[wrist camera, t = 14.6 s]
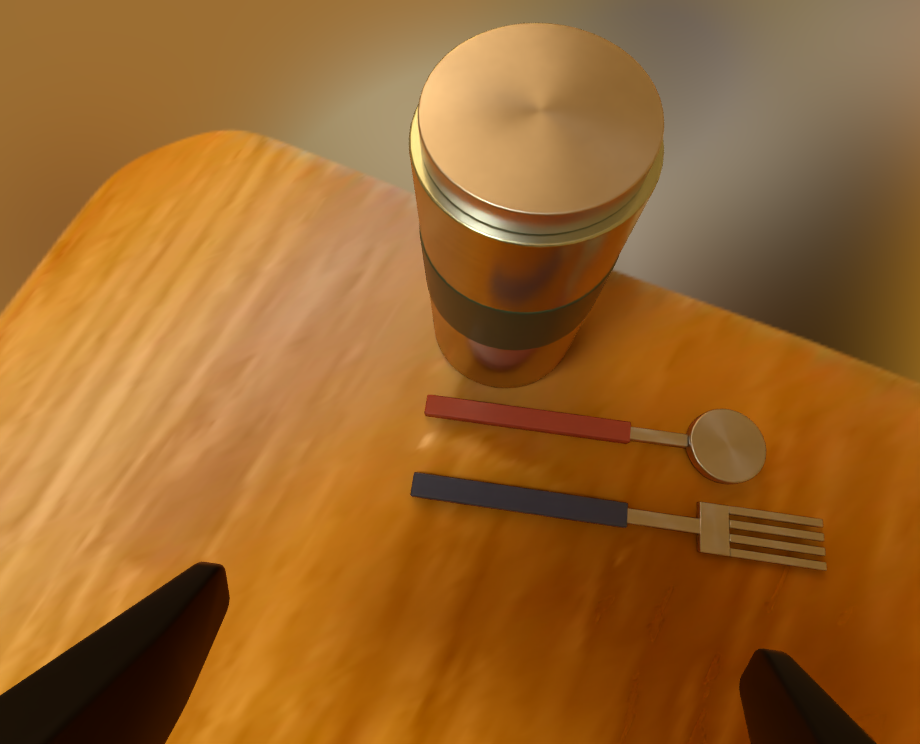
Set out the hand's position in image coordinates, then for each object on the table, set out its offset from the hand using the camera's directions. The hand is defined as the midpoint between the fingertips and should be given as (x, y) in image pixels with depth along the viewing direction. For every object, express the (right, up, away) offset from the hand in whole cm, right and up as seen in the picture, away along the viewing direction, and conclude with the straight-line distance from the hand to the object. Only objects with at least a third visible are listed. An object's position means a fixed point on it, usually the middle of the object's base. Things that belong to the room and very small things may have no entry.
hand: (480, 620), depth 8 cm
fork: (+6, -2, +13) cm, 14 cm away
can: (+2, +7, +15) cm, 17 cm away
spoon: (+6, +2, +14) cm, 15 cm away
